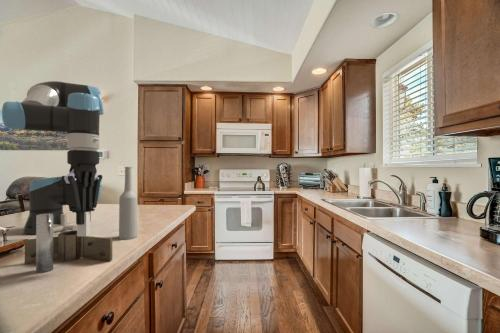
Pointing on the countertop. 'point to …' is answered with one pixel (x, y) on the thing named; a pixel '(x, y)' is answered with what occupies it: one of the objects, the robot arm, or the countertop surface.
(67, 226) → the pipe connector
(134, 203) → the bottle
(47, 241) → the hinge pin
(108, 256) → the loose leaf
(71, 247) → the knuckle and fixed leaf
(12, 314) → the countertop surface
